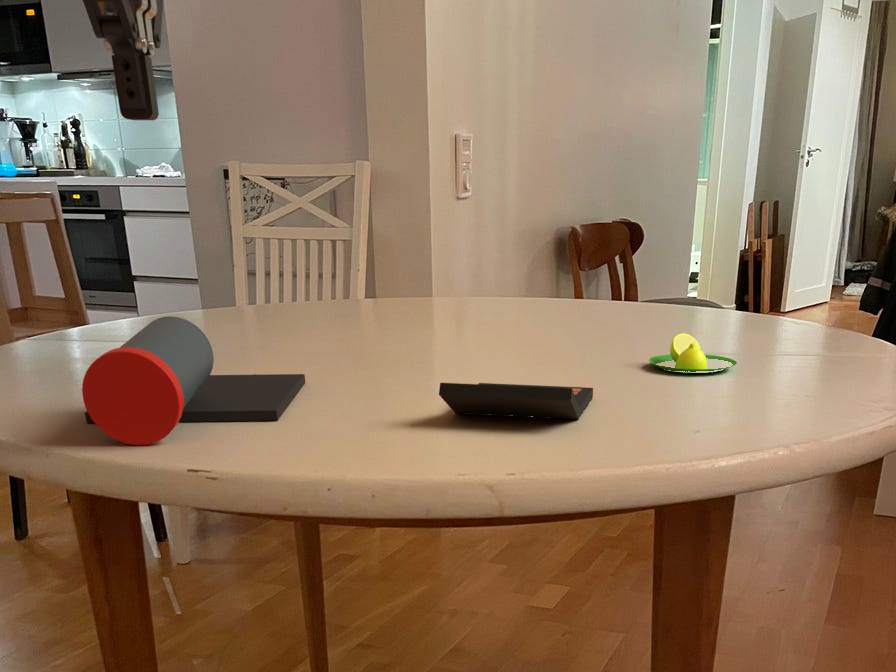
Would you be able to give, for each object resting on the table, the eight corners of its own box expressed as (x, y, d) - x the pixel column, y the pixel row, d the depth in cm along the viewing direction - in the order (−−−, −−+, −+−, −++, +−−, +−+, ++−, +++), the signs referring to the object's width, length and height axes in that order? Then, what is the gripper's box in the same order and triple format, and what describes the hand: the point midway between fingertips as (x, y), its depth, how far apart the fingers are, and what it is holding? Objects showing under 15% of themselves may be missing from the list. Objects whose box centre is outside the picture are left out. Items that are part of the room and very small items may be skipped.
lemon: (631, 364, 87) (633, 333, 86) (701, 358, 90) (704, 327, 88) (681, 379, 80) (684, 345, 79) (754, 371, 83) (758, 339, 82)
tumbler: (145, 396, 72) (95, 448, 61) (125, 314, 68) (70, 354, 58) (224, 392, 72) (188, 442, 61) (208, 309, 68) (167, 348, 58)
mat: (86, 423, 67) (83, 412, 67) (144, 385, 80) (142, 375, 79) (278, 421, 67) (276, 410, 67) (305, 383, 80) (304, 373, 80)
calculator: (592, 398, 74) (594, 360, 72) (569, 433, 63) (571, 389, 62) (479, 393, 76) (479, 355, 74) (439, 426, 66) (438, 383, 64)
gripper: (71, -173, 61) (117, 124, 69) (-22, -257, 49) (47, 113, 57) (184, -172, 61) (217, 124, 69) (119, -256, 50) (168, 113, 57)
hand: (140, 119), depth 63 cm, fingers closed
